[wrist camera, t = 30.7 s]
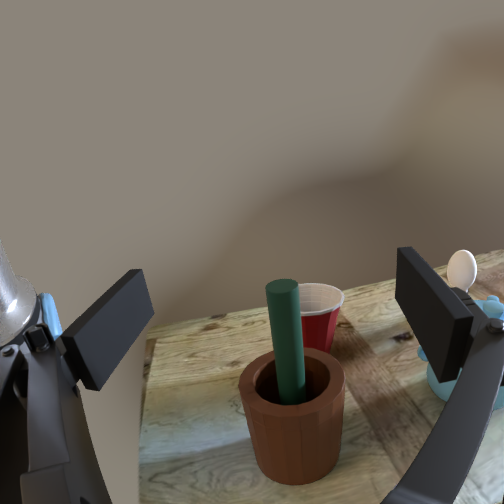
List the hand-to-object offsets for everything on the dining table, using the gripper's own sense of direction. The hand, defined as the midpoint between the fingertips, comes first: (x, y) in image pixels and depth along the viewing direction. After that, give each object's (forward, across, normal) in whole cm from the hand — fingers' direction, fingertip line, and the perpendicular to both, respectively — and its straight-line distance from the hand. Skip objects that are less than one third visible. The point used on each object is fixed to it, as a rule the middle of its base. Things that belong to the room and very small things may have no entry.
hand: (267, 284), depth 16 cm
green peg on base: (+8, 0, -26) cm, 28 cm away
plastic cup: (+28, +2, -27) cm, 39 cm away
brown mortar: (+8, 0, -27) cm, 28 cm away
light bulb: (+40, +35, -27) cm, 60 cm away
